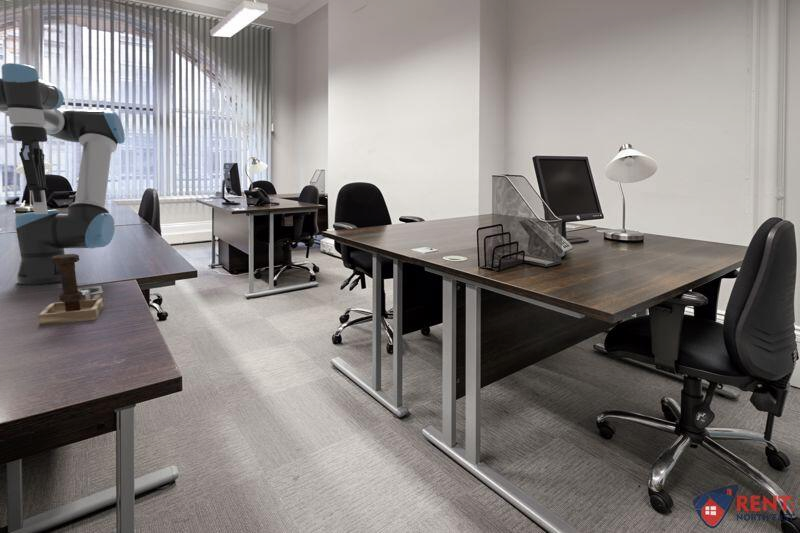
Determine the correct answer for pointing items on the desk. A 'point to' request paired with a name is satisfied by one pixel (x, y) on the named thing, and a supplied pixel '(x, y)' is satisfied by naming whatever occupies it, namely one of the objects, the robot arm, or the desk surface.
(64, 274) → the bolt
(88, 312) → the socket
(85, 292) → the grey rectangular block
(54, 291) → the desk surface
